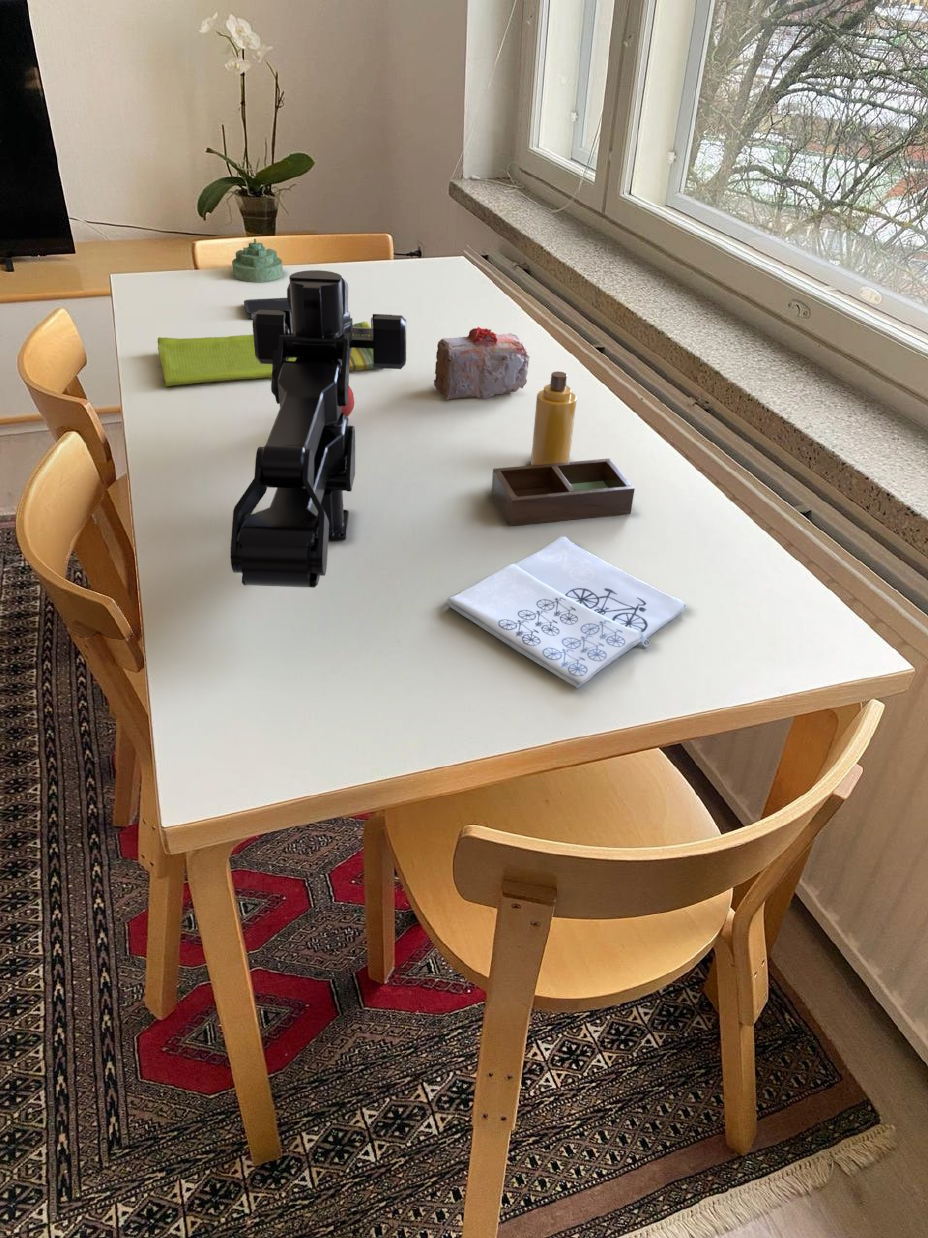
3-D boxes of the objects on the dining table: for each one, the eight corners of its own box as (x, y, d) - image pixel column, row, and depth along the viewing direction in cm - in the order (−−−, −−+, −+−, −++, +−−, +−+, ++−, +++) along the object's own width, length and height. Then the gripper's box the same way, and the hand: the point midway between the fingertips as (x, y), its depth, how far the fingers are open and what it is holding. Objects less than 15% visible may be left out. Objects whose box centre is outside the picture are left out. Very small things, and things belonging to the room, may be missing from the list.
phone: (329, 309, 172) (247, 313, 168) (329, 315, 172) (247, 319, 169) (322, 295, 178) (243, 299, 174) (323, 301, 178) (243, 305, 175)
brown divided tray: (491, 493, 120) (492, 468, 118) (605, 482, 124) (609, 458, 122) (510, 526, 114) (512, 500, 112) (630, 513, 118) (634, 488, 115)
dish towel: (391, 369, 153) (390, 350, 151) (165, 389, 142) (162, 369, 141) (368, 337, 164) (367, 319, 162) (158, 353, 154) (155, 334, 152)
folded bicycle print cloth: (441, 608, 100) (442, 591, 98) (564, 542, 111) (566, 527, 110) (578, 696, 89) (580, 678, 88) (697, 613, 101) (701, 597, 99)
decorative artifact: (292, 276, 190) (267, 264, 196) (289, 240, 186) (264, 229, 192) (248, 284, 185) (224, 272, 191) (245, 248, 181) (220, 236, 187)
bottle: (571, 474, 126) (582, 382, 118) (532, 473, 125) (541, 381, 117) (565, 456, 130) (576, 366, 122) (528, 456, 129) (536, 366, 122)
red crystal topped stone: (509, 377, 152) (514, 317, 146) (529, 396, 146) (534, 334, 140) (430, 385, 148) (432, 324, 142) (448, 405, 142) (450, 342, 136)
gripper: (402, 292, 105) (409, 258, 118) (237, 285, 105) (262, 252, 118) (402, 387, 111) (409, 345, 124) (246, 381, 111) (269, 340, 124)
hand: (338, 319), depth 122 cm, fingers open, 9 cm apart
